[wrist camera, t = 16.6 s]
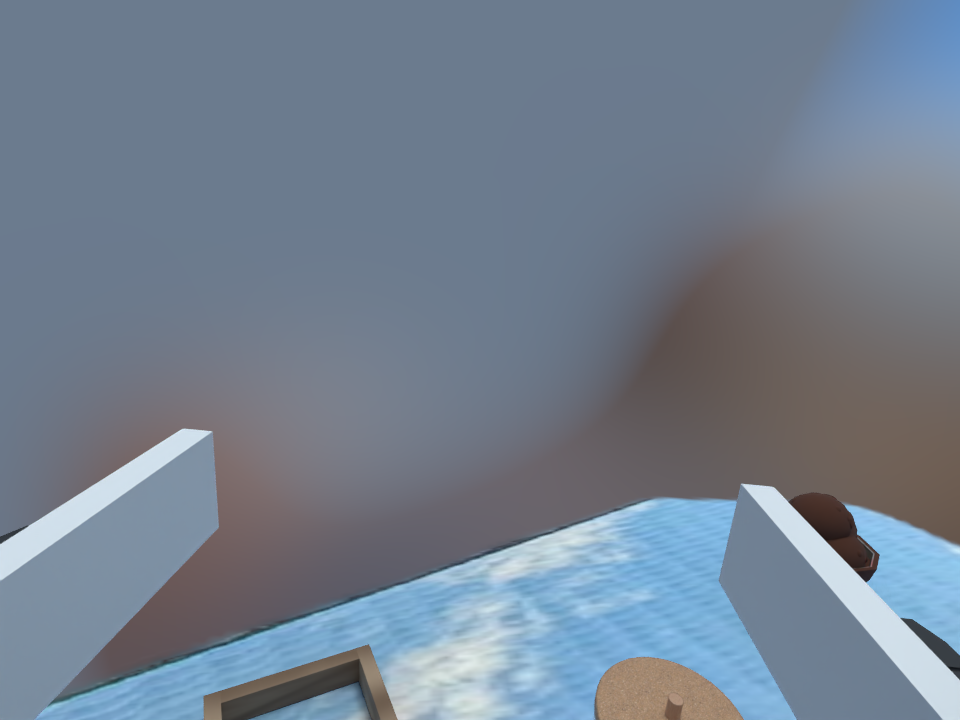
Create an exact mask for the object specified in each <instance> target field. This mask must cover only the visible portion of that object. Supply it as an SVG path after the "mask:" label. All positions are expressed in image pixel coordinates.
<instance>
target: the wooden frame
mask: <svg viewBox="0 0 960 720" xmlns="http://www.w3.org/2000/svg"><path fill="white" fill-rule="evenodd" d="M358 681H359V683H360V686H361V689H362V692H363V695H364V698H365V701H366V704H367V707H368V710H369V713H370V716H371V719H372V720H397V717H396V714H395V712H394V709H393V706H392V704H391V701H390V699H389V696H388V693H387V691H386V688H385V685H384V683H383V680H382V677H381V675H380V672H379V669H378V667H377V664H376V662H375V659H374V656H373V654H372V651H371V648H370V646H369V645H365V646H362V647H359V648H356V649H353V650H350V651H346V652H343V653H340V654H337V655H334V656H330V657H327V658H324V659H321V660H318V661H314V662H311V663H308V664H305V665H302V666H298V667H295V668H292V669H289V670H286V671H282V672H279V673H276V674H273V675H270V676H266V677H263V678H260V679H257V680H254V681H250V682H247V683H244V684H241V685H238V686H234V687H231V688H228V689H225V690H222V691H218V692H215V693H212V694H209V695H206V696H204V720H247V719H250V718H253V717H255V716H258V715H261V714H264V713H267V712H270V711H273V710H276V709H279V708H282V707H285V706H288V705H290V704H293V703H296V702H299V701H302V700H305V699H308V698H311V697H314V696H317V695H320V694H323V693H326V692H328V691H331V690H334V689H337V688H340V687H343V686H346V685H349V684H352V683H355V682H358Z"/></svg>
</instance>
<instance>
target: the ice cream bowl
mask: <svg viewBox="0 0 960 720" xmlns="http://www.w3.org/2000/svg"><path fill="white" fill-rule="evenodd" d="M788 503H789V504H790V505H791V506H792V507H793V508H794V509H795V510H796V511H797V512H798V513H799V514H800V515H801V516H802V517H803V518H804V519H805V520H806V521H807V522H808V523H809V524H810V525H811V526H812V527H813V528H814V529H815V531H816V532H817V533H818V534H819V535H820V536H821V537H822V538H823V539H824V540H825V541H826V542H827V543H828V544H829V545H830V546H831V547H832V548H833V549H834V550H835V551H836V552H837V553H838V554H839V555H840V556H841V557H842V559H843V560H844V561H845V562H846V563H847V564H848V565H849V566H850V567H851V568H852V569H853V570H854V571H855V572H856V573H857V574H858V575H859V576H860V577H861V578H862V579H863V580H864V581H865V582H867V581H869V580H870V578H871V577H872V576H873V574H874V573H875V571H876V570H877V565H878V560H879V554H878V553H877V552H876V551H875V550H874V549H873V548H872V547H871V546H870V545H869V544H868V543H867V542H866V541H865V540H864V539H862V538H861V537H860V536H859V535H857V528H856V525H855V522H854V518H853V516H852V514H851V513H850V512H849V511H848V510H847V509H846V507H845V506H844V505H843V504H842V503H841V502H839V501H837V499H836V498H835V497H833V496H830V495H827V494H820V493H808V494H803V495H799V496H797V497H795V498H794V499H791V500H790V501H789V502H788Z"/></svg>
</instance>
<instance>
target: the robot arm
mask: <svg viewBox="0 0 960 720" xmlns="http://www.w3.org/2000/svg"><path fill="white" fill-rule="evenodd" d="M218 527H219V525H218V509H217V493H216V478H215V462H214V447H213V432H212V431H201V430H192V429H182V430H180V431H179V432H177V433H175V434H174V435H172V436H171V437H169V438H167V439H166V440H164V441H163V442H161V443H159V444H158V445H156V446H155V447H153V448H152V449H150V450H149V451H147V452H145V453H144V454H142V455H141V456H139V457H137V458H136V459H134V460H133V461H131V462H130V463H128V464H126V465H125V466H123V467H122V468H120V469H118V470H117V471H115V472H114V473H112V474H110V475H109V476H108V477H106V478H104V479H103V480H101V481H100V482H98V483H96V484H95V485H93V486H92V487H90V488H89V489H87V490H85V491H84V492H82V493H81V494H79V495H77V496H76V497H74V498H73V499H71V500H70V501H68V502H66V503H65V504H63V505H62V506H60V507H58V508H57V509H55V510H54V511H52V512H50V513H49V514H47V515H46V516H44V517H43V518H41V519H39V520H38V521H36V522H35V523H33V524H31V525H30V526H25V527H23V528H20V529H18V530H16V531H13V532H11V533H8V534H6V535H3V536H1V537H0V720H34V719H35V718H36V717H37V716H38V715H39V714H40V713H41V712H42V711H43V710H44V709H45V708H46V707H47V706H48V705H49V704H50V703H51V702H52V701H53V700H54V698H55V697H56V696H57V695H58V694H59V693H60V692H61V691H62V690H63V689H64V688H65V687H66V686H67V685H68V684H69V683H70V682H71V681H72V680H73V679H74V678H75V677H76V676H77V674H78V673H79V672H80V671H81V670H82V669H83V668H84V667H85V666H86V665H87V664H88V663H89V662H90V661H91V660H92V659H93V658H94V657H95V656H96V655H97V653H99V652H100V651H101V649H102V648H103V647H104V646H105V645H106V644H107V643H108V642H109V641H110V640H111V639H112V638H113V637H114V636H115V635H116V634H117V633H118V632H119V631H120V630H121V629H122V628H123V627H124V626H125V624H126V623H127V622H128V621H129V620H130V619H131V618H132V617H133V616H134V615H135V614H136V613H137V612H138V611H139V610H140V609H141V608H142V607H143V606H144V605H145V604H146V603H147V601H148V600H149V599H150V598H151V597H152V596H153V595H154V594H155V593H156V592H157V591H158V590H159V589H160V588H161V587H162V586H163V585H164V584H165V583H166V581H167V580H169V578H170V577H171V576H172V575H173V574H174V573H175V572H176V571H177V570H178V569H179V568H180V567H181V566H182V565H183V564H184V563H185V562H186V561H187V560H188V559H189V558H190V557H191V556H192V555H193V554H194V552H195V551H196V550H197V549H198V548H199V547H200V546H201V545H202V544H203V543H204V542H205V541H206V540H207V539H208V538H209V537H210V536H211V535H212V534H213V532H215V531H216V530H217V529H218ZM719 582H720V584H721V586H722V587H723V589H724V591H725V593H726V595H727V596H728V598H729V600H730V602H731V603H732V605H733V607H734V609H735V610H736V612H737V614H738V616H739V618H740V619H741V621H742V623H743V625H744V626H745V628H746V630H747V632H748V634H749V635H750V637H751V639H752V641H753V642H754V644H755V646H756V648H757V650H758V651H759V653H760V655H761V657H762V658H763V660H764V662H765V664H766V665H767V667H768V669H769V671H770V673H771V674H772V676H773V678H774V680H775V681H776V683H777V685H778V687H779V689H780V690H781V692H782V694H783V696H784V697H785V699H786V701H787V703H788V704H789V706H790V708H791V710H792V712H793V713H794V715H795V717H796V719H797V720H960V656H959V655H958V654H957V653H956V652H955V651H954V650H953V649H952V648H951V647H950V646H949V645H948V644H947V643H946V642H945V641H943V640H942V639H940V638H939V637H937V636H936V635H934V634H933V633H931V632H930V631H929V630H927V629H926V628H924V627H923V626H921V625H920V624H918V623H917V622H915V621H914V620H912V619H905V618H899V617H898V615H897V614H896V613H895V612H894V611H893V610H892V609H891V608H890V607H889V606H888V605H887V604H886V603H885V602H884V601H883V600H882V599H881V598H880V597H879V596H878V595H877V594H876V593H875V592H874V591H873V590H872V589H871V588H870V586H869V585H868V584H867V583H866V582H865V581H864V580H863V579H862V578H861V577H860V576H859V575H858V574H857V573H856V572H855V571H854V570H853V569H852V568H851V567H850V566H849V565H848V564H847V563H846V562H845V561H844V560H843V559H842V557H841V556H840V555H839V554H838V553H837V552H836V551H835V550H834V549H833V548H832V547H831V546H830V545H829V544H828V543H827V542H826V541H825V540H824V539H823V538H822V537H821V536H820V535H819V534H818V533H817V532H816V531H815V529H814V528H813V527H812V526H811V525H810V524H809V523H808V522H807V521H806V520H805V519H804V518H803V517H802V516H801V515H800V514H799V513H798V512H797V511H796V510H795V509H794V508H793V507H792V506H791V505H790V504H789V503H788V502H787V500H786V499H785V498H784V497H782V495H781V494H780V493H779V492H778V491H777V490H776V489H775V488H774V487H768V486H758V485H748V484H741V487H740V492H739V496H738V500H737V504H736V508H735V513H734V517H733V521H732V526H731V530H730V534H729V538H728V543H727V547H726V551H725V556H724V560H723V564H722V568H721V573H720V577H719Z"/></svg>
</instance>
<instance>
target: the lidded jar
mask: <svg viewBox="0 0 960 720" xmlns="http://www.w3.org/2000/svg"><path fill="white" fill-rule="evenodd" d="M593 720H744V719H743V718H742V716H741V715H740V713H739V712H738V710H737V709H736V707H735V706H734V705H733V704H732V702H731V701H730V700H729V699H728V698H727V697H726V696H725V695H724V694H723V693H722V692H721V691H720V690H719V689H718V688H717V687H716V686H715V685H713V684H712V683H711V682H710V681H708V680H707V679H705V678H704V677H702V676H701V675H699V674H698V673H696V672H694V671H693V670H691V669H689V668H686V667H684V666H682V665H680V664H677V663H674V662H671V661H668V660H664V659H659V658H652V657H637V658H630V659H627V660H624V661H621V662H619V663H617V664H615V665H614V666H612V667H611V668H610V669H608V670H607V671H606V672H605V674H604V675H603V676H602V678H601V680H600V682H599V684H598V687H597V692H596V696H595V711H594V719H593Z"/></svg>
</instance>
